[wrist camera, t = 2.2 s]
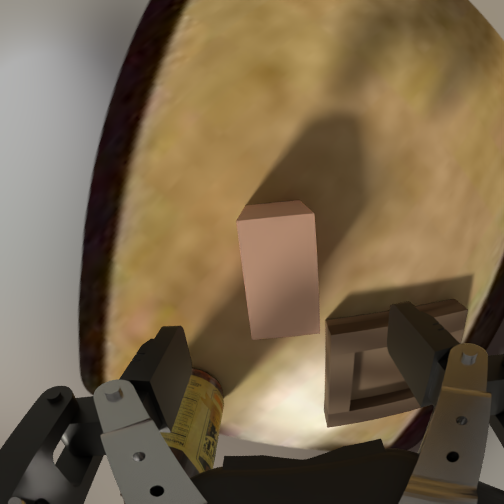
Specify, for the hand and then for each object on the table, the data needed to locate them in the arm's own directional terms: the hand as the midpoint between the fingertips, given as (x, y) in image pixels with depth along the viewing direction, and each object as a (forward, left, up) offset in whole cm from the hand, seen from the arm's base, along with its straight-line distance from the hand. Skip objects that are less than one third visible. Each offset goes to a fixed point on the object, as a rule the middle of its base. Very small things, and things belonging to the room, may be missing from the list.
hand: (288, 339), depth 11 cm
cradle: (+12, +10, -12) cm, 20 cm away
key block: (0, 0, -13) cm, 13 cm away
